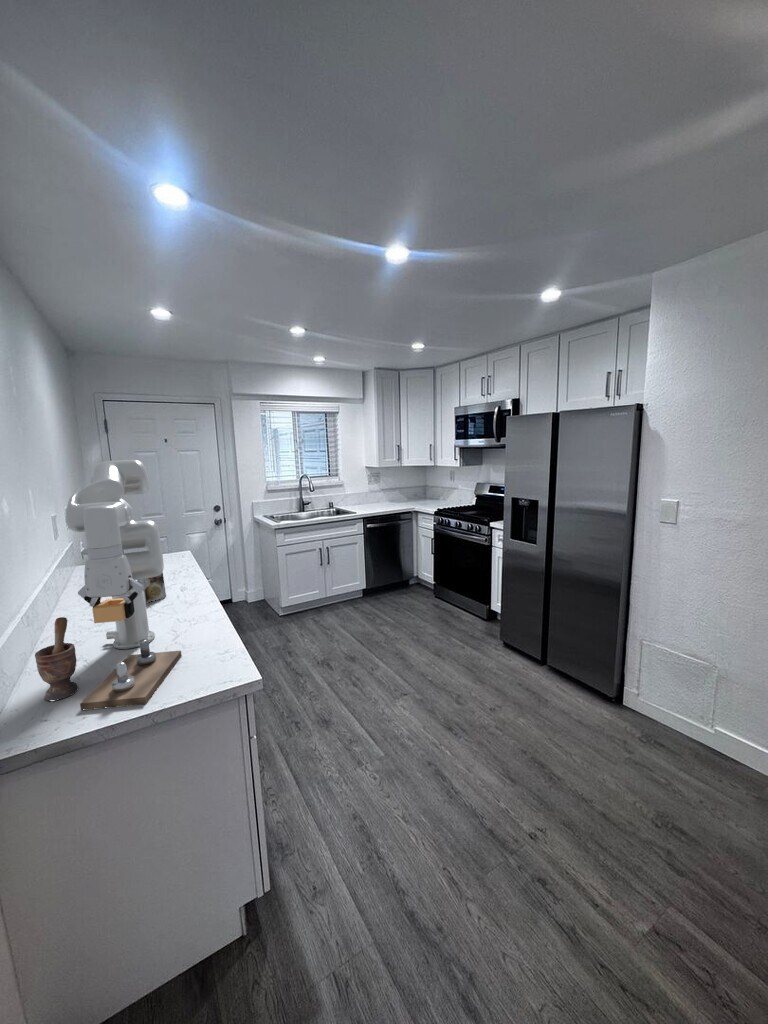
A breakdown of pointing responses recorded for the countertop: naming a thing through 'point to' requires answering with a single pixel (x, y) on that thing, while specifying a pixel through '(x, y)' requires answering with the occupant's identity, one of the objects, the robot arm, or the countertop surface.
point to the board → (144, 682)
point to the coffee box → (153, 588)
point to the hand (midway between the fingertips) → (115, 617)
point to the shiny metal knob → (145, 654)
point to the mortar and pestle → (58, 664)
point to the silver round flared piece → (122, 679)
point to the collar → (109, 611)
